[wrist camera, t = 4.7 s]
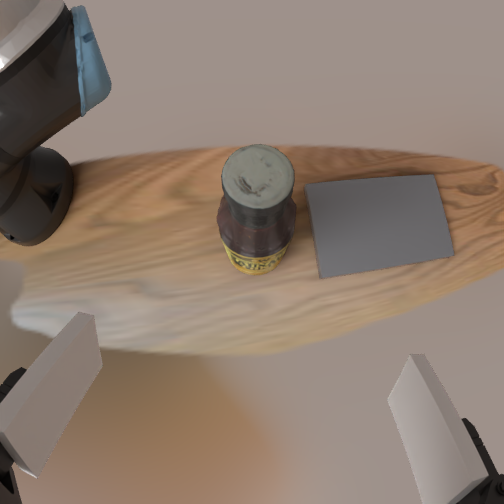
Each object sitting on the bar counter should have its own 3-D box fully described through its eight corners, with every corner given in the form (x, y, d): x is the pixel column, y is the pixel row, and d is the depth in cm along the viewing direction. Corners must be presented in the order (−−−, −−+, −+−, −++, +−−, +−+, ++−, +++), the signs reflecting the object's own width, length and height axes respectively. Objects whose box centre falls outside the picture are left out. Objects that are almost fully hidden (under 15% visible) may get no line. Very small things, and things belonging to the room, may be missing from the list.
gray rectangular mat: (319, 279, 35) (321, 277, 34) (303, 188, 37) (305, 184, 36) (448, 257, 35) (454, 255, 33) (428, 178, 37) (433, 174, 35)
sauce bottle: (233, 281, 35) (196, 243, 16) (225, 228, 37) (184, 140, 17) (290, 271, 35) (321, 221, 16) (280, 219, 37) (295, 121, 17)
